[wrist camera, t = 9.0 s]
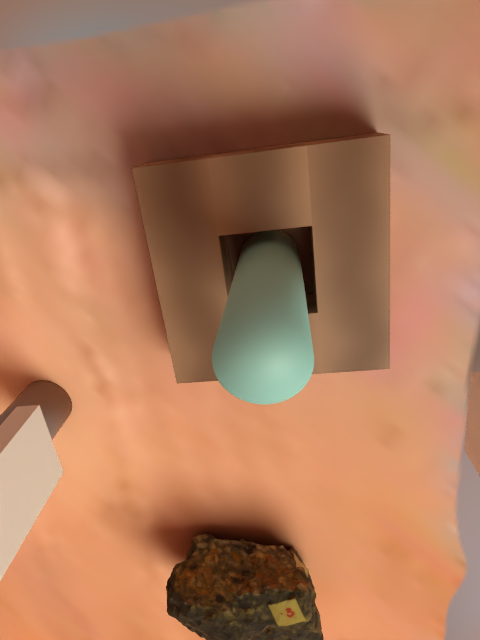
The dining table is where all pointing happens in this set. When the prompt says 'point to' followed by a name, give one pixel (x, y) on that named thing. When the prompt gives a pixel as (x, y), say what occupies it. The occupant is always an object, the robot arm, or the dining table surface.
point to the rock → (243, 592)
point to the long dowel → (265, 324)
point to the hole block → (272, 214)
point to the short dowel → (44, 404)
